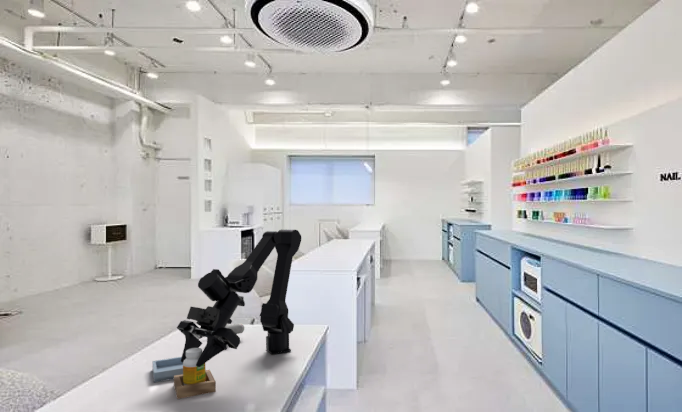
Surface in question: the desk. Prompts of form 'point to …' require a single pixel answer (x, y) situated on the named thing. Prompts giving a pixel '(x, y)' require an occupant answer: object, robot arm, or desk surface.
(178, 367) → the tray
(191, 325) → the robot arm
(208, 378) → the frame
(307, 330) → the desk surface
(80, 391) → the desk surface
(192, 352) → the supplement bottle
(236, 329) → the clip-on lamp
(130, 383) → the desk surface
